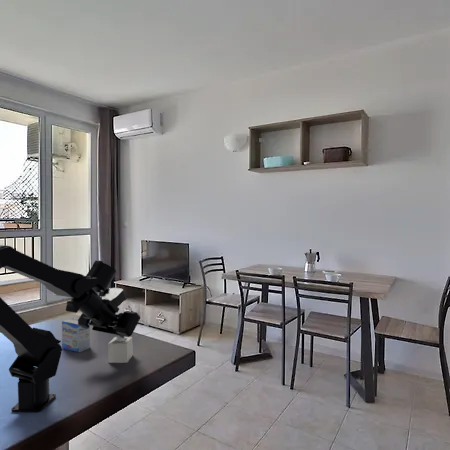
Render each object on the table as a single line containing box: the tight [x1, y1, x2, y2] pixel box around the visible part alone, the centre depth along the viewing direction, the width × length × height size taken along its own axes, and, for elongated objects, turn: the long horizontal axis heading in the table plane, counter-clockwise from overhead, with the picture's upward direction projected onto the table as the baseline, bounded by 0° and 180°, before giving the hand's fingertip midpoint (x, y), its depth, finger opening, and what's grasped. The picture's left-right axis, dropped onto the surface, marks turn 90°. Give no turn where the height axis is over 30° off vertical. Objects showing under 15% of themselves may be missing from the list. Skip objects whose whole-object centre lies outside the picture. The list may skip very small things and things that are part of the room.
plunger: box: [113, 327, 125, 342], centre depth 99 cm, size 4×4×10 cm
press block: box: [107, 336, 133, 364], centre depth 100 cm, size 5×5×6 cm
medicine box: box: [61, 317, 91, 353], centre depth 108 cm, size 8×4×9 cm, turn 62°
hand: (124, 334), depth 101 cm, fingers closed on plunger, 4 cm apart
